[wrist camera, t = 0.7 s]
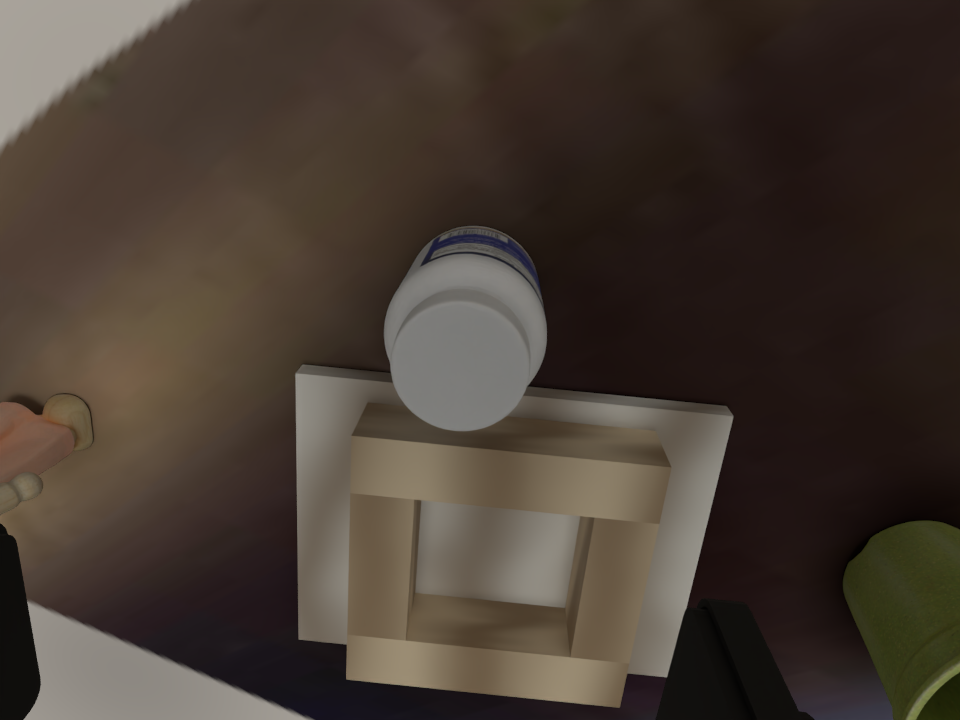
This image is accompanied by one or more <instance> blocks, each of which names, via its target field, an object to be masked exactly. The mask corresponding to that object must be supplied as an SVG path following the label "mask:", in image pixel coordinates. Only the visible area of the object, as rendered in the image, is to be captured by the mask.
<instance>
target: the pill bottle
mask: <svg viewBox="0 0 960 720" xmlns="http://www.w3.org/2000/svg"><path fill="white" fill-rule="evenodd" d="M384 342H385V348H386V353H387V356H388V359H389V361H390V370H391V376H392V381H393V384H394V387H395V389H396V391H397V393H398V395H399V397H400V398H401V400H402V401H403V403H404V404H405V405H406V406H407V407H408V409H409V410H410V411H411V412H412V413H414V414H415V415H416V416H417V417H419V418H420V419H422V420H423V421H425V422H427V423H429V424H431V425H433V426H436V427H438V428H442V429H446V430H452V431H473V430H478V429H482V428H485V427H488V426H491V425H493V424H495V423H497V422H498V421H500V420H502V419H503V418H504V417H506V416H507V415H508V414H509V413H510V412H511V411H512V410H513V409H514V408H515V407H516V406H517V404H518V403H519V402H520V400H521V398H522V397H523V395H524V393H525V390H526V388H527V386H528V385H529V384H530V382H531V381H532V380H533V378H534V377H535V375H536V374H537V372H538V370H539V368H540V366H541V363H542V361H543V358H544V355H545V350H546V344H547V324H546V317H545V311H544V306H543V301H542V295H541V290H540V284H539V279H538V275H537V272H536V269H535V266H534V264H533V262H532V260H531V258H530V257H529V255H528V254H527V252H526V251H525V250H524V249H523V248H522V246H521V245H520V244H519V243H517V242H516V241H515V240H514V239H512V238H511V237H509V236H508V235H506V234H504V233H502V232H500V231H498V230H495V229H492V228H488V227H482V226H464V227H458V228H454V229H451V230H449V231H446V232H444V233H442V234H441V235H439V236H437V237H436V238H434V239H433V240H431V241H430V242H429V243H428V244H427V245H426V246H425V247H424V248H423V249H422V250H421V251H420V253H419V254H418V256H417V257H416V259H415V261H414V262H413V264H412V265H411V267H410V269H409V271H408V273H407V274H406V276H405V278H404V279H403V281H402V283H401V284H400V286H399V287H398V289H397V291H396V292H395V294H394V296H393V298H392V300H391V302H390V305H389V307H388V310H387V313H386V318H385V323H384Z"/></svg>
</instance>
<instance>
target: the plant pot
mask: <svg viewBox="0 0 960 720" xmlns="http://www.w3.org/2000/svg"><path fill="white" fill-rule="evenodd" d="M843 592H844V595H845V599H846V601H847V603H848V606H849V608H850V610H851V613H852V615H853V618H854V620H855V622H856V624H857V627H858V629H859V631H860V633H861V635H862V638H863V640H864V642H865V644H866V647H867V649H868V651H869V654H870V656H871V658H872V660H873V663H874V665H875V668H876V670H877V672H878V675H879V677H880V680H881V682H882V684H883V687H884V689H885V691H886V694H887V696H888V698H889V701H890V703H891V705H892V708H893V720H960V529H957V528H955V527H953V526H950V525H948V524H946V523H942V522H936V521H912V522H906V523H902V524H899V525H895V526H892V527H890V528H887V529H885V530H883V531H881V532H879V533H878V534H876V535H874V536H873V537H871V538H870V539H869V541H868V543H867V545H866V546H865V547H864V549H863V550H862V551H861V552H860V553H859V554H858V555H857V556H856V557H855V558H854V559H853V560H851V561H849V563H848V564H847V567H846V570H845V573H844V577H843Z"/></svg>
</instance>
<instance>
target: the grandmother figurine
mask: <svg viewBox="0 0 960 720" xmlns="http://www.w3.org/2000/svg"><path fill="white" fill-rule="evenodd" d="M92 442H93V433H92V425H91V417H90V411H89V409H88V407H87V406H86V404H85V403H84V401H82V400H81V399H80V398H78V397H76V396H73V395H69V394H59V395H55V396H53V397H51V398H50V399H49V400H48V401H47V402H46V404H45V406H44V409H43V414H42V415H35V414H34V413H33V412H32V411H30V410H29V409H28V408H27V407H25V406H23V405H21V404H18V403H14V402H2V403H0V515H1V514H3V513H5V512H7V511H9V510H11V509H13V508H15V507H16V506H17V505H18V504H19V503H20V502H21V501H27V500H30V499H33V498H35V497H36V496H38V495H39V494H40V493H41V491H42V489H43V482H42V480H41V478H40V477H39V476H38V475H40V474H41V473H43V472H44V471H46V470H47V469H49V468H51V467H52V466H54V465H55V464H57V463H58V462H59V461H61V460H62V459H63V458H65V457H66V456H68V455H69V454H70V453H71V452H72V451H80V450H84V449H87V448H88V447H89V446H91V444H92Z"/></svg>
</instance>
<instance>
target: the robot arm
mask: <svg viewBox="0 0 960 720" xmlns="http://www.w3.org/2000/svg"><path fill="white" fill-rule="evenodd" d="M40 685H41V684H40V674H39V668H38V662H37V657H36V651H35V645H34V639H33V633H32V628H31V622H30V616H29V610H28V604H27V599H26V593H25V587H24V581H23V576H22V570H21V564H20V558H19V553H18V547H17V543H16V540H15V538H14V537H13V536H11V535H8V533H7V531H6V528H5V527H4V526H3V525H2V524H0V720H23V719H24V718H25V717H26V716H27V714H28V713H29V712H30V710H31V709H32V707H33V705H34V704H35V701H36V699H37V697H38V694H39V691H40ZM656 720H814V719H813V718H812V717H811V716H810V715H809V714H808V713H806V712H799V711H798V709H797V706H796V704H795V702H794V700H793V698H792V696H791V694H790V692H789V690H788V688H787V686H786V684H785V681H784V679H783V677H782V675H781V673H780V671H779V669H778V667H777V665H776V663H775V661H774V659H773V656H772V654H771V652H770V650H769V648H768V646H767V644H766V642H765V640H764V638H763V636H762V633H761V631H760V629H759V627H758V625H757V623H756V621H755V619H754V617H753V615H752V613H751V611H750V609H749V607H748V606H747V605H746V604H745V603H743V602H734V601H725V600H716V599H706V598H704V599H701V600H700V602H699V603H698V606H697V608H687V609H686V610H685V613H684V615H683V619H682V623H681V626H680V630H679V634H678V638H677V642H676V645H675V649H674V653H673V657H672V660H671V664H670V668H669V672H668V675H667V679H666V683H665V687H664V691H663V694H662V698H661V702H660V706H659V709H658V713H657V717H656Z"/></svg>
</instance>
